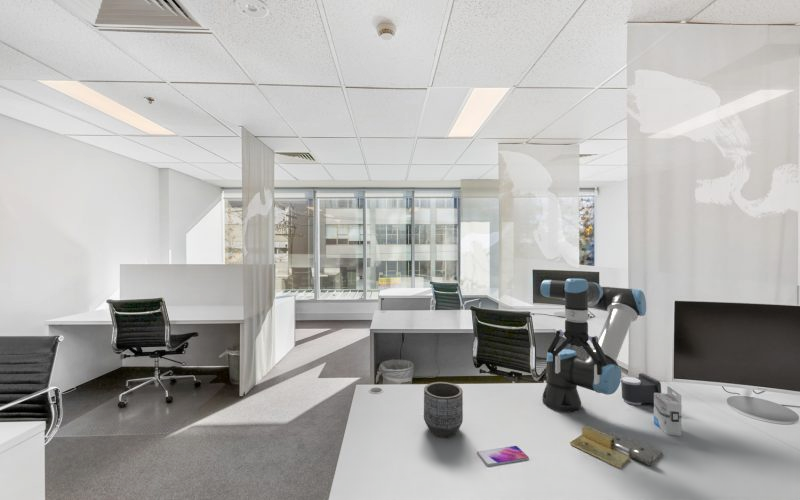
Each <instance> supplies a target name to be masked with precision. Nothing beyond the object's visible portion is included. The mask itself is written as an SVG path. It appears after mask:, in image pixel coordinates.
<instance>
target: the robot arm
mask: <svg viewBox="0 0 800 500" xmlns="http://www.w3.org/2000/svg"><path fill="white" fill-rule="evenodd" d="M540 294H541V295H542V296H543V297H545V298H549V299H558V300H563V301H564V318H565V321H564V331H563V330H562V329H558V330H556V331H555V336H554V338H553V340H552V342H551V343H550V346H549V348H548V349H547V353H546V360H545V361H546V385H545V387H544V391H543V392H542V396H541V397H542V403H543V405H545V406H546V407H548V408H550V409H552V410H555V411H559V412H563V413H577V412H580V411H581V410H582V401H581V397H580V394H579V391H578V387H580V388H584V389H586V390H590V391H594V392H595V393H597V394H604V395H612V394H614V393H615V392H616V391H617V390H618V389H619V387H620V385H621V380H622V371H621V368H620V367H619V363H618V362H617V360H618V357H619V355H620V352H621V349H622V348H623V344H624V341H625V340H626V336H627V333H628V332H629V328H630V326H631V324H632V323H633V322H636V321H637V319H638V318H639V316H640V317H643V316H645V315H646V312H647V301H646V300H647V299H646V295H645V293H644V291H642V290H641V289H637V288H624V287H613V286H601V285H600V284H599V283H597V282H593V281H588V280H587V279H586V278H567V279H566V280H556V279H555V280H554V279H544V280H542V282H541V283H540ZM589 307H591V308H594V309H595V310H600V311H604V312H607V313H608V315H607V317H606V320H605V322H604V325H603V327H602V329H601V331H600V334H599V335H598V336H597V335H595V336H590V335H589V323H588V321H589ZM563 336H564V338H565V340H564V341H563V342H562V343H561V344H560V345H559V346H558V347H557V345H558V344H559V342H560V341H561V339H562V337H563ZM588 341H590V343H591V344H592V347H593V348H592V347H591V345H590V344H589V343H588ZM568 345H570V346H576V347H579V348H580V347H581V348H582V349H583V350H585V351H586V355H585V357H583V356H579V355H578V353H577V351H576V350H573V349H568V348H567V346H568ZM556 347H557V348H556Z"/></svg>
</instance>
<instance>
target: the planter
mask: <svg viewBox="0 0 800 500" xmlns="http://www.w3.org/2000/svg"><path fill="white" fill-rule="evenodd" d="M463 397H464V396H463V388H462V387H461V386H459V385H458V384H455V383H452V382H446V381H445V382H444V381H436V382H431V383H428V384H426V385H425V386H424V389H423V421H424V422H425V425H426V426H427V428H428V430H430V431H429V432H430V433H431V434H433V435H434V436H437V437H441V438H450V437H452V436H454V435H456V433H457V432H458V431H459V430H460V428H461V426H462V424H463V419H464V418H463V416H464V414H463V413H464V412H463V411H464V410H463V406H464V405H463V404H464V401H463V399H464V398H463Z"/></svg>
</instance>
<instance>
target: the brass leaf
mask: <svg viewBox="0 0 800 500" xmlns="http://www.w3.org/2000/svg"><path fill="white" fill-rule="evenodd" d="M611 441H612V442H614V437H612V436H610V435H608V433H605V432H602V431H600V430H598V429H595V428H594V427H591V426H588V425H584V426H582V427H581V434H580V435H579V436H577V437H576V438H574V439H573V440H571V441H570V442H569V445H570V446H572V447H575V448H577V449H579V450H581V451H583V452H585V453H587V454H589V455H591V456H593V457H595V458H596V459H597V458H598V459H599V460H601V461H603V462H606V463H607V464H609V465H612V466H614V467H616V468H618V469H620V468H622V467H623V466H624V465H625V464H626V463H627V462H629V461H630V459H631V457H630V456H629V455H626V454H624V453H622V452H619V451H617V450H616V449H613V448H615V446H613V445H611Z"/></svg>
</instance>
